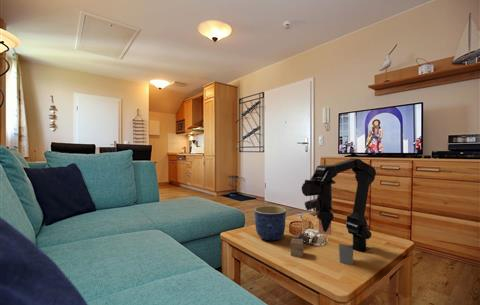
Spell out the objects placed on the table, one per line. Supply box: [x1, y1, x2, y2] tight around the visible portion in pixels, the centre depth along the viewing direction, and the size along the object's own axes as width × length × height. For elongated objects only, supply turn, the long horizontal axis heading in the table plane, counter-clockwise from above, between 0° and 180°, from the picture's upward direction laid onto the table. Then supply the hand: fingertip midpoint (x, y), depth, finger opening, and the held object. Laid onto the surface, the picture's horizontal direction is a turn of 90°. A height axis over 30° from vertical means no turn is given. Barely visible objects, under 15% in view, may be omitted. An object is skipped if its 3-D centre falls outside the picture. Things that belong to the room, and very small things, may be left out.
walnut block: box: [290, 238, 304, 258], centre depth 103 cm, size 5×5×6 cm
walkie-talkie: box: [294, 231, 311, 244], centre depth 119 cm, size 9×4×20 cm
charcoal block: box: [338, 243, 354, 265], centre depth 96 cm, size 5×5×6 cm
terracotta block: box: [318, 219, 332, 236], centre depth 100 cm, size 5×5×6 cm
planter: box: [254, 205, 287, 241], centre depth 123 cm, size 17×17×15 cm
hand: (324, 229), depth 100 cm, fingers closed on terracotta block, 5 cm apart
